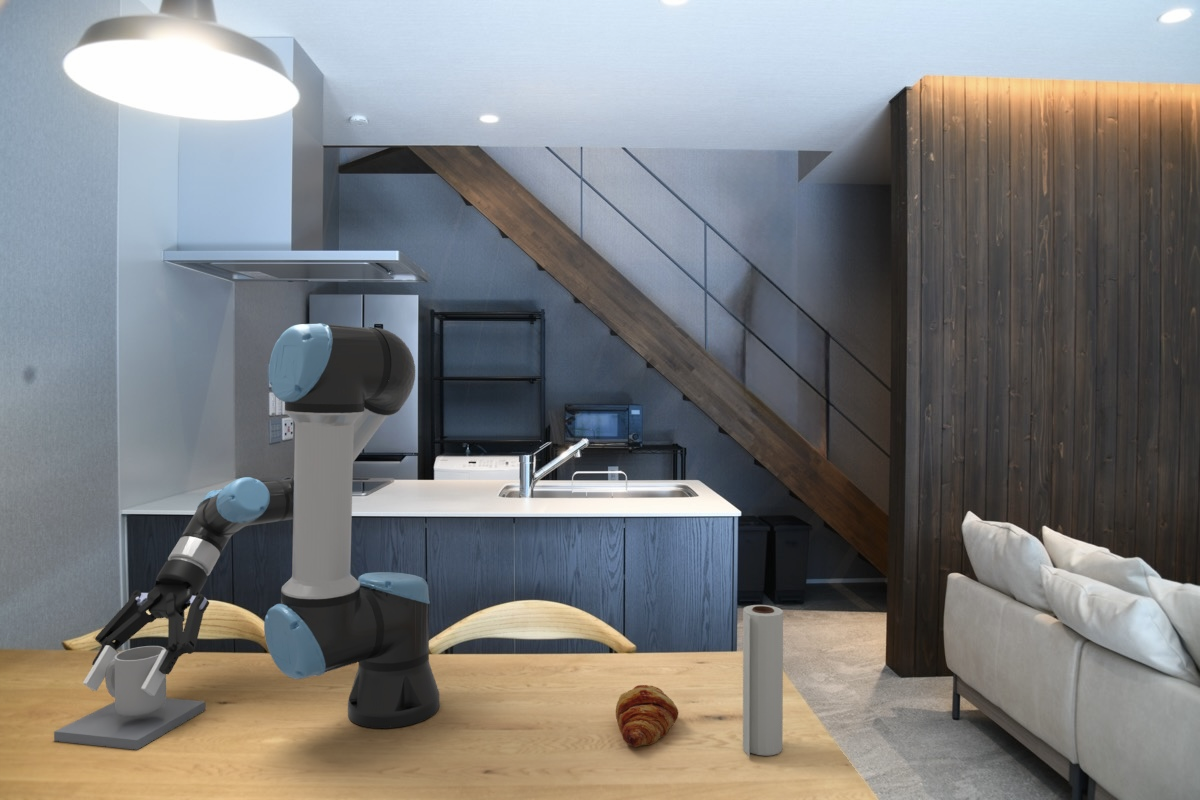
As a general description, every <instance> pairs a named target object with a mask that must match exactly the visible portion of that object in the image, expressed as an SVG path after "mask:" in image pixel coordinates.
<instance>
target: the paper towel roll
mask: <svg viewBox="0 0 1200 800" xmlns="http://www.w3.org/2000/svg"><path fill="white" fill-rule="evenodd" d="M742 614H743V615H742V619H743V621H742V623H743V624H742V632H743V633H742V634H743V636H742V641H743V642H742V675H743V676H742V749H743V751H744V752H745V754H746V755H747V756H748V760H750V759H751V758H750V757H751V755H750V754H753V755H757V756H774V755H778V754H780V753H781V752H782V751H783V737H784V736H783V734H784V733H783V725H784V722H783V717H784V715H783V711H784V710H783V709H784V708H783V701H784V700H783V697H784V696H783V695H784V694H783V691H784V690H783V689H784V685H783V684H784V680H783V679H784V677H783V676H784V669H783V668H784V660H783V659H784V610H783V609H781V607H780V608H779V607H777V606H773V605H766V604H753V605H747V606H744V607H743V610H742Z"/></svg>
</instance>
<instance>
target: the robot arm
mask: <svg viewBox="0 0 1200 800" xmlns="http://www.w3.org/2000/svg"><path fill="white" fill-rule="evenodd" d="M268 380H269V381H268V382H269V384H270V386H271V392H272V393H273V395H274V396H275V398H277V399H279V400H280V401H282V402H284V413H285V414H286V415H287V416H288V417H289V418H290V419H291V420H292V421H293V422H294V425H295V426H294V459H293V460H294V462H293V463H294V465H293V467H294V468H293V475H292V476H291V478H289V479H282V480H281V479H280V480H272V481H264V482H263V481H261V480H259V479H256V478H253V477H250V476H247V477H241V478H237V479H235V480H234V481H231V482H230V483H229V484H226V486H224V487H223V488H222V489H218V490H217V489H214V490H211V491H209V492H208V493H206V495H205V496H204V497H203V499H202V501H201V502H199V504H198V505H197V509H196V511H195V512H194V514H193V515H192V517H191V520H190V521H189V523H188V524H187V526H186V528H185V529H184V531H183V533H182V534H181V536H180V537H179V540H178V541H177V543H176V545H175V546H174V547H173V549H172V551H170V552H171V553H170V554H169V556H168V557H167V561H165V563H164V564H163V565H162V567H161V569H160V571H159V572H158V574H157V576H156V577H155V578H156V579H155V585H154V587H153V588H152V589H151V590H150V591H149V592H141V591H140V590H139V589H136V590H134V591H133V592H132V593H131V595H130V596H129V598H128V600H127V602H126V603H125V604H124V605H123V607H121V609H120V610H118V611H117V613H116V614H115V615H114V616H113V617H112V619H111V620H110V621H109V622H107V624H106V625H105V626H104V627H103V628H102V629H101V630H100V631H99V633H98V634H97V635H96V636H95V638H94V640H95V641H96V642H97V643H98V644H100V646H101V647H100V649H99V651H98V653H97V654H96V655H95V657H94V659H93V661H92V664H91V665H92V668H91V669H90V670H89V672H88V674H87V675H86V677H85V679H84V680H83V682H82V684H83V685H84V686H86V687H87V688H89V689H90V690H92V692H93V691H95V692H97V691H98V690H99V688H100V686H101V685H102V683H103V681H105V674H106V669H107V667H108V665H109V663H110V662H111V661H112V660H113V659H115V655H117V654H118V653H119V652H118V649H119V648H121V647H122V646H123V645H124V644H125V643H127V641H128V640H130V639H131V638H132V637H134V635H135V634H137V633H138V632H139V631H140V630H141V629H142V628H144V627H145V626H146V625H147V624H148V623H153V622H154V621H155V620H156V619H167V620H168V622H167V623H168V624H167V625H168V626H167V627H168V631H167V632H168V633H167V635H168V637H167V639H168V640H167V643H168V645H165V648H167V649H166V650H162V651H161V653H160V655H159V656H158V658H157V660H156V662H155V664H154V665H153V667H152V669H151V671H150V673H149V675H148V676H147V678H146V680H145V682H144V684H143V685H142V687H141V689H142V690H144V691H145V692H146V693H147V694H149V695H150V696H155V694H156V692H157V690H158V688H159V686H160V685H161V683H162V681H163V679H164V677H165V675H166V676H167V675H169V674H170V673H171V672H172V670H173V669H174V667H175V665H176V663H177V661H178V660H179V657H181V656H182V655H184V654H189V655H190V654H193V653H194V652H195V650H196V646H197V642H198V637H199V633H200V629H201V625H202V621H203V617H204V613H205V611H206V609H207V608H208V606H209V605H210V601H209V600H208V599H207V598H206V597H205V596H204V595H203V594H202V593H201V592H202V590H203V588H204V586H205V584H206V582H207V580H208V576H209V575H211V572H212V571H213V569H214V567H215V566H216V563H217V562H218V559H220V557H221V554H222V553H223V551H224V549H225V547H226V545H227V544H228V542H229V540H230V539H231V537H232V536H233V535H235V533H237V532H239V531H240V530H242V529H243V528H245V527H247V526H254V525H263V524H267V523H275V522H281V521H288V520H289V521H290V520H292V561H291V562H292V565H291V566H292V567H291V569H292V572H291V573H292V574H291V577H290V579H288V581H286V582H285V583H284V584H283V585H282V586H281V590H280V591H281V592H280V593H281V595H280V596H281V597H280V603H277V604H274V606H271V607H270V608H269V609H268V611H267V612H266V615H265V617H264V623H263V625H264V627H263V628H264V638H265V643H266V646H267V649H268V652H269V655H270V656H271V658H272V660H273V662H274V664H275V665H276V667H277V668H278V669H279V671H280V672H281V673H283V674H284V675H285V676H287V677H289V678H291V679H293V680H302V679H305V678H309V677H314V676H316V677H318V676H322V675H324V674H325V673H328V672H332V671H335V670H338V669H340V668H344V667H347V666H350V665H353V664H356V663H357V664H358V669H357V672H356V675H355V678H354V682H353V684H352V687H351V691H350V694H349V697H348V699H347V716H348V719H349V720H350V722H352V723H354V724H356V725H358V726H361V727H366V728H371V729H390V728H391V729H393V728H400V727H406V726H410V725H415V724H417V723H420V722H423V721H425V720H427V719H429V718H432V717H433V716H434V715H436V713H437V712H438V711H439V709H440V691H439V690H440V689H439V687H438V685H437V682H436V679H435V676H434V673H433V670H432V666H431V664H430V620H429V619H430V605H431V604H430V603H431V601H430V596H429V585H428V582H427V581H426V580H425V578H423V577H421V576H419V575H415V574H409V573H403V572H393V571H391V572H390V571H387V572H385V571H383V572H382V571H381V572H380V571H379V572H367V573H363V574H361V575H359V576H358V579H356V577H354V576H353V575H352V574H351V555H352V554H351V552H352V522H353V521H352V520H353V519H352V517H353V516H352V515H353V513H352V512H353V507H352V506H353V474H354V473H353V469H354V468H353V465H354V462H355V460H356V459H357V458H358V456H359V455H360V454H361V452H362V451H363V450H364V449H365V447H366V446H367V444H368V443H369V441H370V440H371V439H372V438H373V436H374V435H375V433H376V432H377V431H378V429H380V426H381V425H383V423H384V422H385V420H386V419H387V417H391V416H394V415H396V414H397V413H398V412H400V410H401V409H402V407H403V406H404V405H405V403H406V402H407V400H408V398H409V397H410V395H411V393H412V391H413V388H414V385H415V380H416V365H415V361H414V357H413V354H412V353H411V350H410V348H409V346H408V345H407V344H406V342H405V341H403V339H402V338H400V337H399V336H398V335H397V334H396V333H393V332H391V331H389V330H386V329H384V328H379V327H372V326H371V327H369V326H368V327H361V326H347V325H339V324H338V325H337V324H325V323H320V322H319V323H302V324H295V325H294V324H293V325H292V326H290V327H289V328H287V329H286V330H285V331H283V332H282V334H281V335H280V336H279V338H278V339H277V341H275V344H274V346H273V349H272V351H271V355H270V359H269V364H268ZM188 608H189V609H188ZM186 609H188V612H187V616H186V620H185V611H186ZM147 611H148V612H149V613H148V612H147ZM184 622H185V623H184Z"/></svg>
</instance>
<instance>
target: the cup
mask: <svg viewBox="0 0 1200 800" xmlns="http://www.w3.org/2000/svg"><path fill="white" fill-rule="evenodd" d="M162 650H167V649H166V647H163V646H160V645H146V646H138V647H132V648H129V649H125V650H122V651H120V652H118V654H117V655H115V659H113V660H112V661H111V662H110V663H109V665H108V667H107V669H106V674H105V678H104V682H105V685H106V686H105V687H106V689H107V692H108V693H109V694H110V696H111V697H112V698H114V702H115V710H116V712H117V713H118V714H119V715H122V716H138V715H144V714H148V713H151V712H154V711H157V710H159V709H160V708H162V707H163V706H164V705H165V703H166V698H167V674H166V675H165V677H164V679H163V681H162V683H161V685H160V686H159V688H158V690H157V692H156V694H155V696H150V695H149V694H147V693H146V692H145V691H144V690H142V689H141V687H142V685H143V684H144V682H145V680H146V678H147V676H148V675H149V673H150V671H151V669H152V667H153V665H154V664H155V662H156V660H157V658H158V656H159V655H160V653H161V651H162Z"/></svg>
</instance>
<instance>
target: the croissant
mask: <svg viewBox="0 0 1200 800" xmlns="http://www.w3.org/2000/svg"><path fill="white" fill-rule="evenodd" d="M615 708H616V709H615V718H616V723H617V727H618V729H619V732H620V734H621V735H622V739H623V741H624V742H625V744H627V745H629V746H631V747H635V748H637V747H641V746H647V745H649V746H650V745H652V744H655V743H656V742H657V741H658V740H659V739H660V738H663V737H664V736H665V735H667V733H668V732H669V730H670V728H671V727H673V726H674V724H675V723H676V722H677V720H678V717H679V709H678V707H677V705H676V704H675V703H674V701H673V700H672V698H669V696H668V695H667V694H666V693H664V691H663V690H662V689H660V688H659V687H657V686H654V685H648V684H640V685H636V686H634V687H633V688H632V689H630V690H628V691H625V692H623V693H622V694H620V696H619V697H618V700H617V703H616V705H615Z"/></svg>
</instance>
